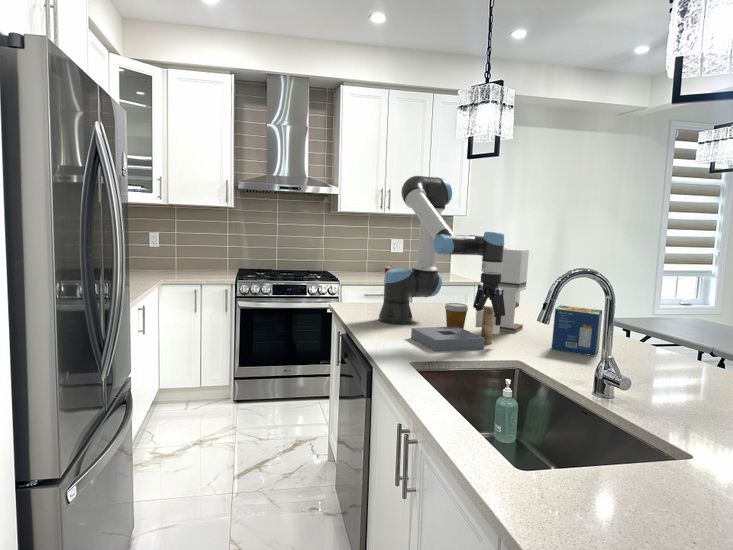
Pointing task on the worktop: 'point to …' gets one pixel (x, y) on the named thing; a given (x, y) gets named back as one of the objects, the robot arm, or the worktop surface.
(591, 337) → the protein box
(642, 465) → the worktop surface
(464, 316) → the disposable coffee cup
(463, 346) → the socket block
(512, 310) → the white banded pillar
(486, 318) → the oak peg
